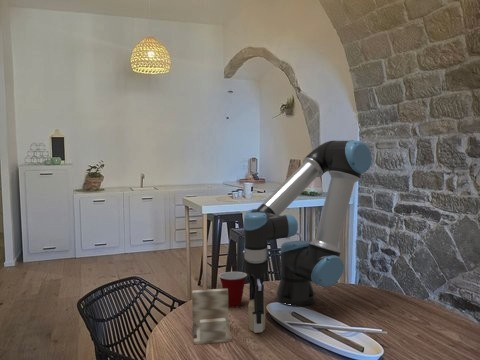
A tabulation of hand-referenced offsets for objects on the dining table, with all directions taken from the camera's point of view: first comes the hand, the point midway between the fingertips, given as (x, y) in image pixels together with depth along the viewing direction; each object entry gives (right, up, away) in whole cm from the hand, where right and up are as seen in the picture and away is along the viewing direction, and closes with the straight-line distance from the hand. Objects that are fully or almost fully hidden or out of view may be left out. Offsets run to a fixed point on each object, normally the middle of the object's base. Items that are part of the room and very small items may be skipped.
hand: (256, 327), depth 138 cm
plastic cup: (-8, +1, +21) cm, 22 cm away
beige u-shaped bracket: (-15, -1, -3) cm, 15 cm away
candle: (0, -1, 0) cm, 1 cm away
